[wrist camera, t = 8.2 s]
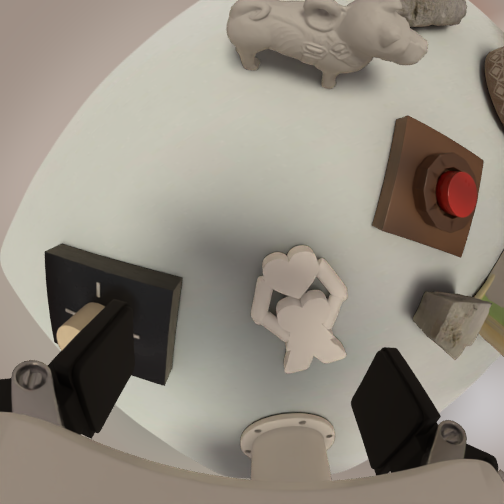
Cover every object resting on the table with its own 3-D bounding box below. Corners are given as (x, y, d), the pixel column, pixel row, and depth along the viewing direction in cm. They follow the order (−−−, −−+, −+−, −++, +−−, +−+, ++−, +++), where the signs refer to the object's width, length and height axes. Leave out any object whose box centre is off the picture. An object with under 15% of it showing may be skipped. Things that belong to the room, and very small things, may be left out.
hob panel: (182, 277, 24) (172, 291, 21) (172, 368, 27) (164, 386, 24) (61, 243, 23) (43, 251, 20) (67, 330, 26) (53, 343, 23)
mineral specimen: (469, 266, 22) (510, 311, 15) (434, 327, 26) (461, 377, 19) (423, 254, 22) (469, 308, 15) (387, 324, 26) (413, 383, 19)
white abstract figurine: (335, 234, 22) (343, 243, 20) (352, 340, 26) (358, 353, 24) (232, 264, 23) (231, 275, 21) (271, 363, 27) (272, 377, 25)
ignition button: (459, 219, 18) (471, 223, 16) (431, 206, 18) (443, 209, 16) (468, 180, 17) (480, 181, 15) (440, 164, 17) (453, 164, 15)
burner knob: (80, 296, 22) (51, 320, 17) (118, 309, 22) (93, 337, 17) (83, 334, 23) (59, 360, 18) (120, 348, 23) (98, 378, 18)
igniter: (449, 251, 23) (472, 263, 19) (371, 225, 22) (391, 235, 18) (470, 160, 20) (495, 161, 16) (395, 119, 19) (418, 111, 16)
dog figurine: (375, 105, 19) (446, 70, 9) (227, 71, 19) (205, 2, 9) (379, 57, 18) (440, 7, 8) (239, 23, 17) (229, -53, 7)
